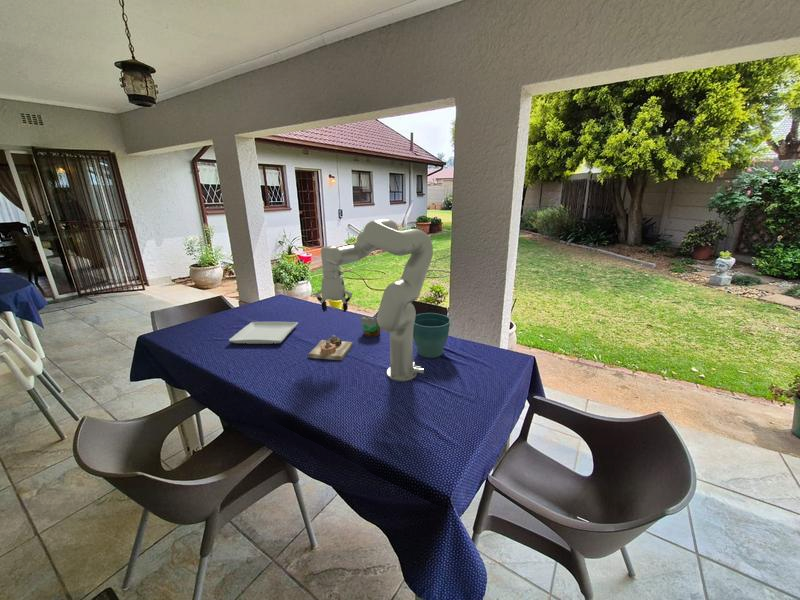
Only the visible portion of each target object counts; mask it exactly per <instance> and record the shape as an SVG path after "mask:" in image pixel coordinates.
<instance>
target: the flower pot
mask: <svg viewBox="0 0 800 600" xmlns="http://www.w3.org/2000/svg"><path fill="white" fill-rule="evenodd" d="M450 324H451V318H450V317H449V316H447V315H445V314H443V313H442V314H440V313H435V312H425V313H418V314H416V318H415V323H414V332H413V342H414V343H415V346H416V348H417V350H416V351H417V353H418V355H419V356H421V357H423V358H429V359H430V358H431V359H433V358H438V357H440V356H442V355H443V353H444V348H445V345H446V344H447V340H448V338H449V331H450Z"/></svg>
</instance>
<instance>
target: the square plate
mask: <svg viewBox="0 0 800 600" xmlns="http://www.w3.org/2000/svg"><path fill="white" fill-rule="evenodd" d="M298 324H299V322H298V321H252V322H251V321H250V323H249V324H247V325H245V326H244V327H243V328H241V329H240V330H239V331H238V332H236V333H235V334H234V335H233V336H231V337H230V338H229V339H228V341H229V342H231V343H234V344H245V343H246V345H248V344H249V345H250V344H255V345H256V344H259V345H260V344H261V345H264V344H267V345H268V344H269V345H272V344H273V343H274V344H281V343H282V342H283V341H284V340H285V339H286V338H287V336H289V335H290V333H291V332H292V331H293V330H294V329H295V327H297V325H298Z"/></svg>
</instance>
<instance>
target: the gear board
mask: <svg viewBox="0 0 800 600" xmlns="http://www.w3.org/2000/svg"><path fill="white" fill-rule="evenodd" d="M330 343H332V344H335V345H336V352H333V354H324V353H321V345H324V344H326V348H330ZM352 348H353V341H343V340H342V338H340V337H339V336H338V337H336V335H335V334H333V335H331V337H330V338H329V337H328V338H327V339H321V340H320V341H319V342H318V343H317V344H316V346H314V348H313V349H312V350H311V351H310V352H309V353H308V358H309V359H321V360H322V359H323V360H334V361H335V360H336V361H343V360H344V358H345V357H346V355H347V354H348V353H349V351H350V350H351V349H352Z"/></svg>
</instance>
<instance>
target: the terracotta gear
mask: <svg viewBox="0 0 800 600" xmlns="http://www.w3.org/2000/svg"><path fill="white" fill-rule="evenodd" d="M333 352H336V345H335V344H332V343H330V348H326V344H324V345H321V353H324V354H333Z"/></svg>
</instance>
